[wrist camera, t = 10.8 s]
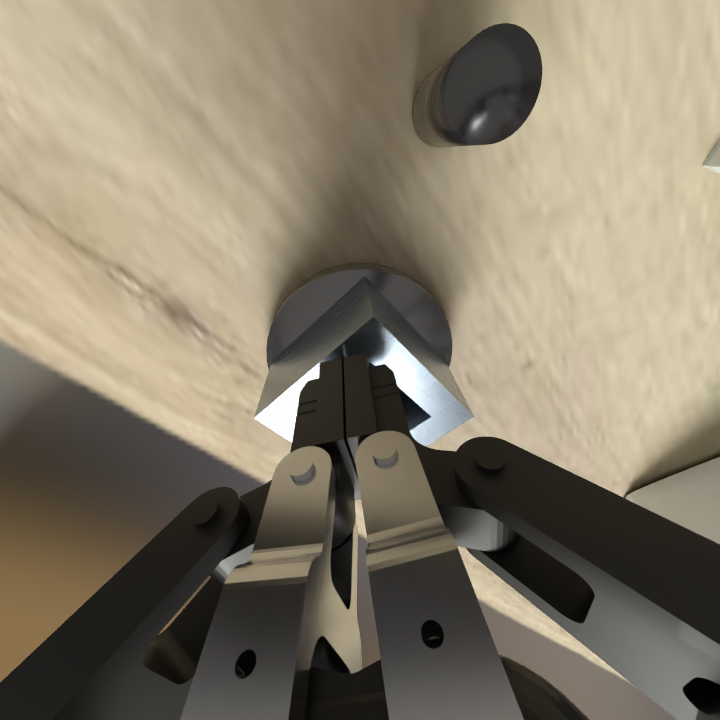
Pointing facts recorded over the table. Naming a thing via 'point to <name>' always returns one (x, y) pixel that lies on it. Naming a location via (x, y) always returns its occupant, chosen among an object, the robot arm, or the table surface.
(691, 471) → the photo printer
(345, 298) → the hollow square housing
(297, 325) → the hub
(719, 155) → the external hard drive
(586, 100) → the table surface
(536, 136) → the table surface
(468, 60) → the stand rod
